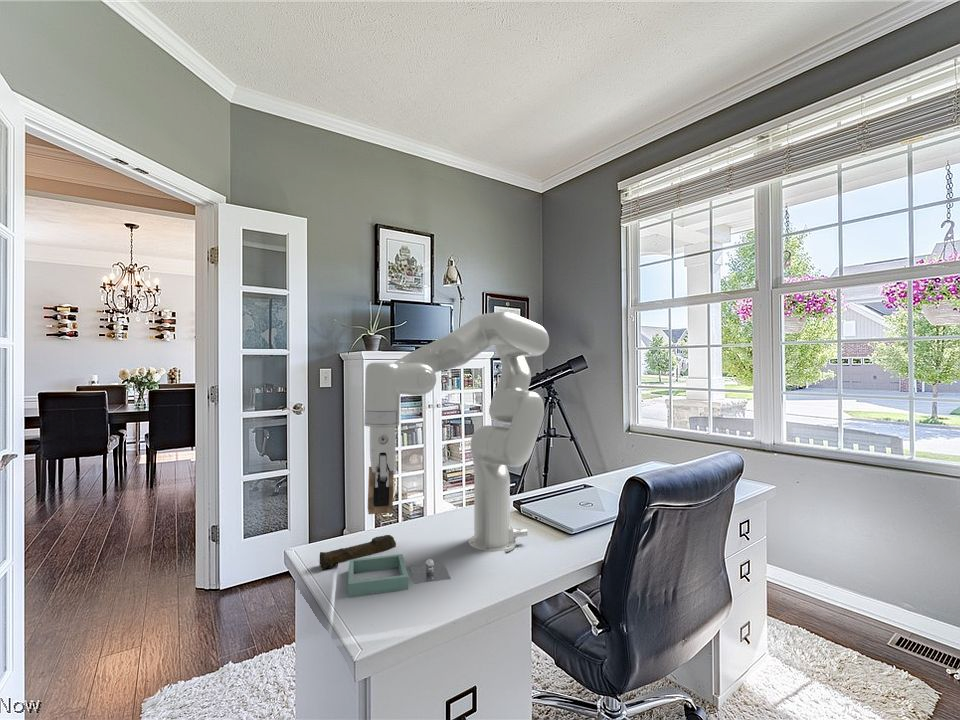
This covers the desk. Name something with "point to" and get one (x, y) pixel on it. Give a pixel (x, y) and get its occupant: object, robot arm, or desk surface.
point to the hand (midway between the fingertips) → (380, 501)
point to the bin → (378, 583)
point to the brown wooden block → (371, 485)
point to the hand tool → (356, 551)
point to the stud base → (429, 578)
